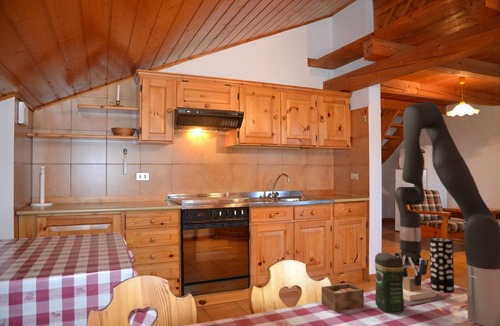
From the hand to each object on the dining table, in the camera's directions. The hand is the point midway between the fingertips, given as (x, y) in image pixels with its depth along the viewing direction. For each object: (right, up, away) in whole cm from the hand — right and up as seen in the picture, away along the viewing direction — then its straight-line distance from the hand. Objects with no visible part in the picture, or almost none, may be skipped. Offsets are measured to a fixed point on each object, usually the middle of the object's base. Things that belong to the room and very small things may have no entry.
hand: (411, 282), depth 129 cm
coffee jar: (-14, -4, -13) cm, 20 cm away
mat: (0, -5, 0) cm, 5 cm away
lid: (0, -4, 0) cm, 4 cm away
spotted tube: (+16, -5, +7) cm, 18 cm away
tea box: (-29, -4, -10) cm, 31 cm away
